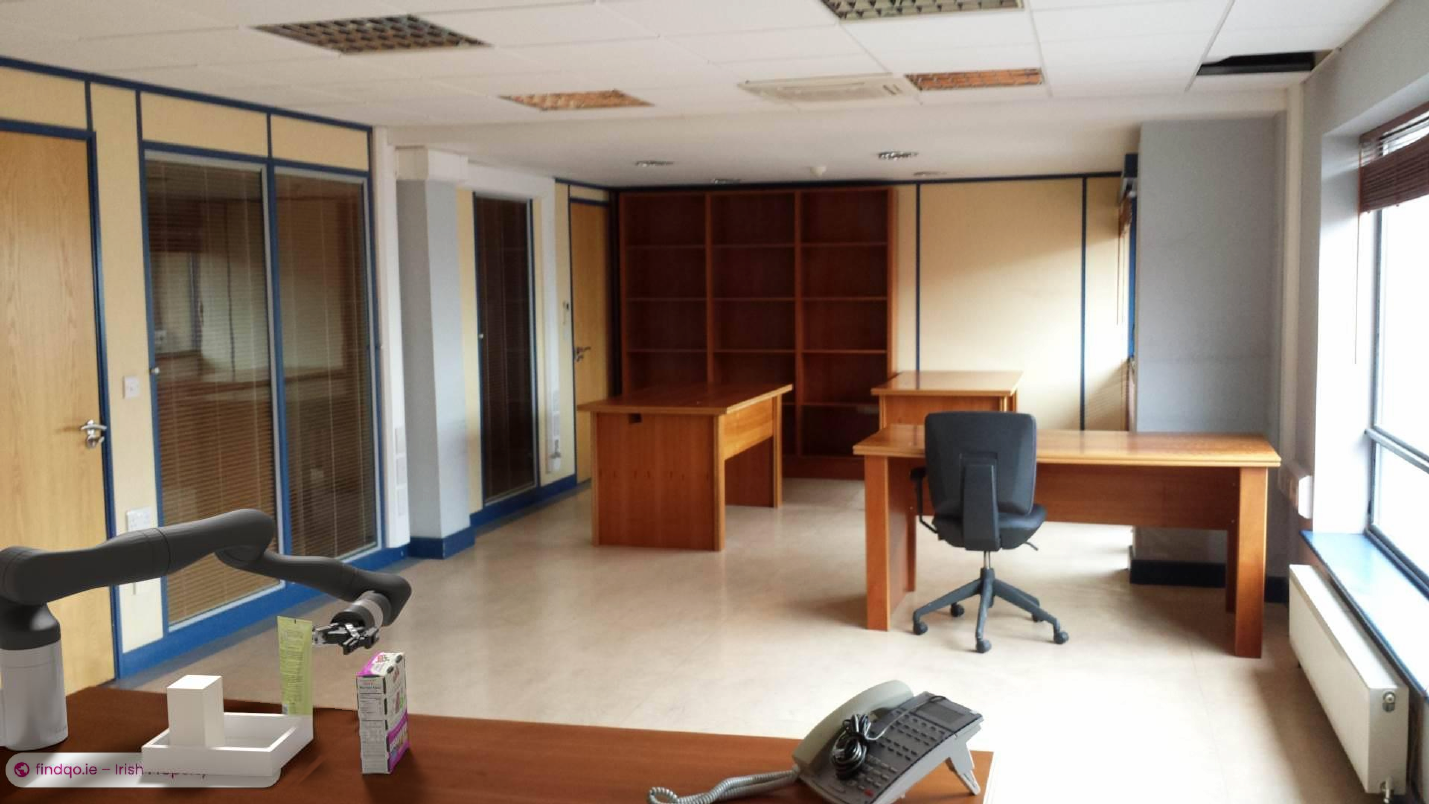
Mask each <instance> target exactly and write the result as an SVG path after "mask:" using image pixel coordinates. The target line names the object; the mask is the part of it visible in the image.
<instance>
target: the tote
mask: <svg viewBox="0 0 1429 804" xmlns="http://www.w3.org/2000/svg"><path fill="white" fill-rule="evenodd" d="M313 724H314V723H313V722H312V715H290V714H282V713H280V714H279V713H259V712H258V713H257V712H255V713H252V712H250V713H249V712H227V711H224V727H225V747H202V746H174V745H170V736H169V727H168V728H166V729H165V730H164V731H162V732H161V733H160V734H158V735H157V736H155V737H154V738H152V739H151V740H150V741H148V742H147V743H145V744H144V745H142V746H141V758H142V759H141V760H142V761H141V762H142V772H143V773H165V774H169V773H170V774H188V775H189V774H190V775H191V774H192V775H193V774H195V775H219V776H221V775H222V776H243V777H245V776H247V777H248V776H249V777H273V776H275V774H276V773H278V771H279V770H281V769H282V768H283V767H284V766H285V765H286V764H287V763H288V762H289V761H290V760H291V759H292V758H294V757H295V756H296V755H297V754H298V753H299V752H300V751H301V750H302V749H304V747H306V745H308V744H309V743H310V742H312V741H313V740H314V729H313V727H314V725H313Z"/></svg>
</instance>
